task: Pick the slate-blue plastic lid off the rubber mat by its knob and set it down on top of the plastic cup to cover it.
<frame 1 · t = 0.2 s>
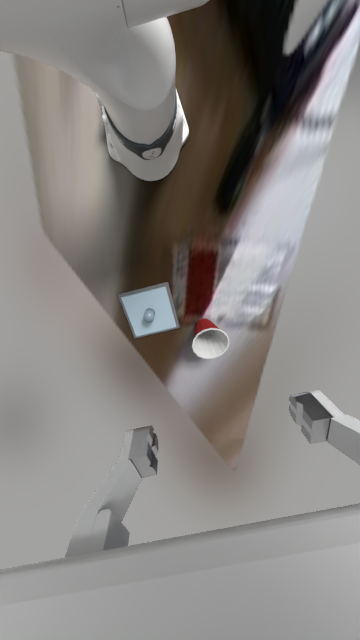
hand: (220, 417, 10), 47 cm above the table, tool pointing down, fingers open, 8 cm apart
plastic cup: (203, 326, 61), on the table
mat: (150, 311, 58), on the table
lid: (150, 312, 57), point 1 cm above the table, touching mat
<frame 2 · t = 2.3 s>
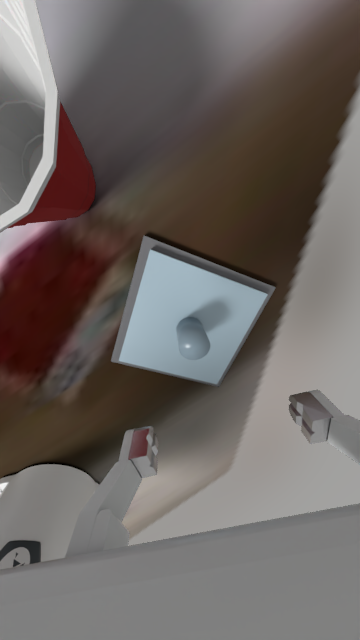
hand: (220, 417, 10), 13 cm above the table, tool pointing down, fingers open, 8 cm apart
plastic cup: (65, 179, 16), on the table
mat: (188, 324, 23), on the table
lid: (188, 326, 22), point 1 cm above the table, touching mat
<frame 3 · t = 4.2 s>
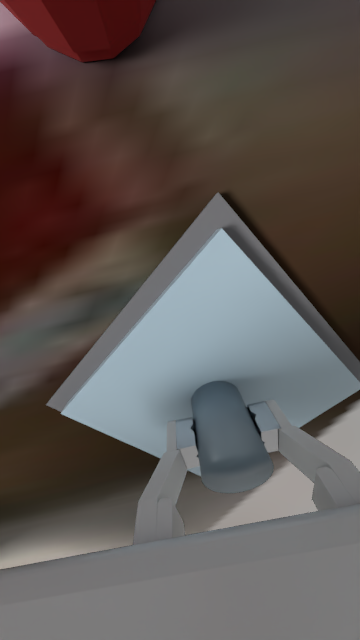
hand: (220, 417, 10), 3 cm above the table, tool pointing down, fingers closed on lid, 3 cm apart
mat: (211, 384, 13), on the table
lid: (212, 390, 12), point 1 cm above the table, touching gripper, mat
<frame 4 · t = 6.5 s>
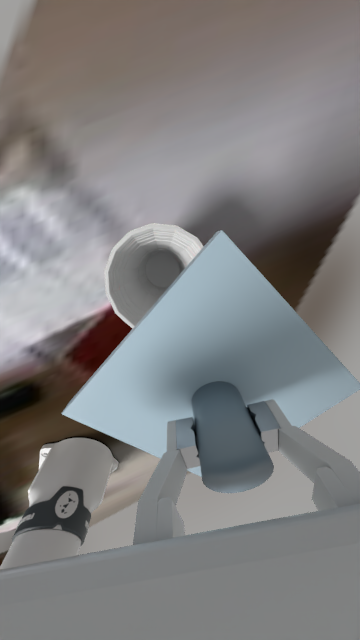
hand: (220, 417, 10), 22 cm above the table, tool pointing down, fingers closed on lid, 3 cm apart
plastic cup: (163, 269, 28), on the table
lid: (213, 390, 12), point 20 cm above the table, touching gripper
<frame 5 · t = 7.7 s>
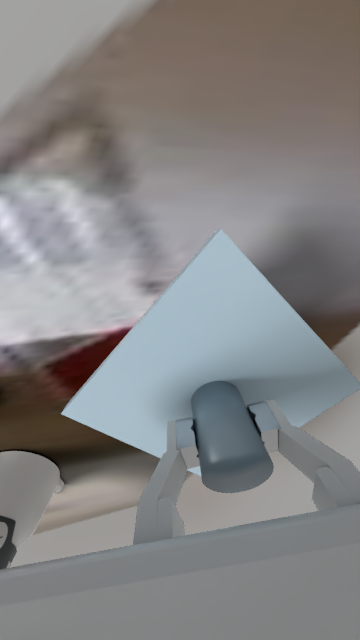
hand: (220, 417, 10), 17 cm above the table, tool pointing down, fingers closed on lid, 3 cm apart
lid: (212, 390, 12), point 15 cm above the table, touching gripper
when the fingers open (15 cm above the table, at t = 8.6 s): lid drops 1 cm, resting on plastic cup.
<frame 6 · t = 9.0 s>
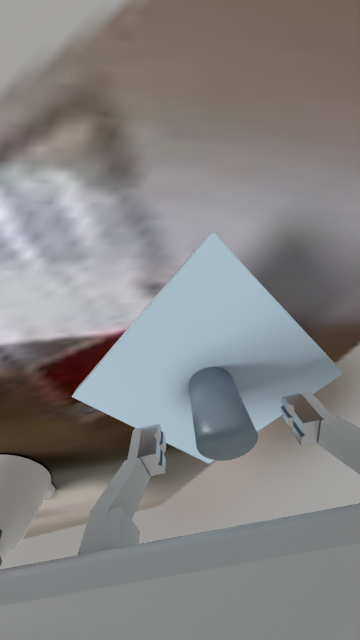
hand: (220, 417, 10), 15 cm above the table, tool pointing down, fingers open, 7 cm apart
lid: (208, 376, 13), point 12 cm above the table, touching plastic cup
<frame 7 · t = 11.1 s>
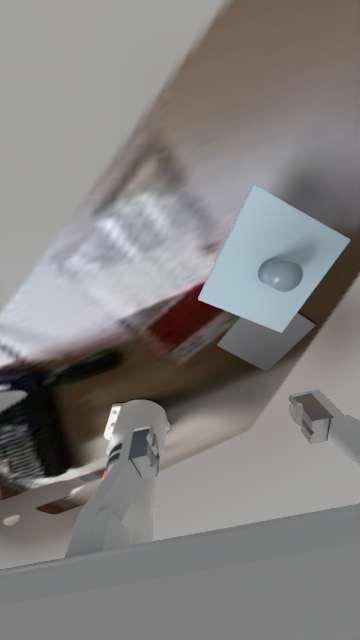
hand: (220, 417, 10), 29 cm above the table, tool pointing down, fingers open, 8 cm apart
mat: (264, 334, 42), on the table
lid: (267, 270, 24), point 12 cm above the table, touching plastic cup
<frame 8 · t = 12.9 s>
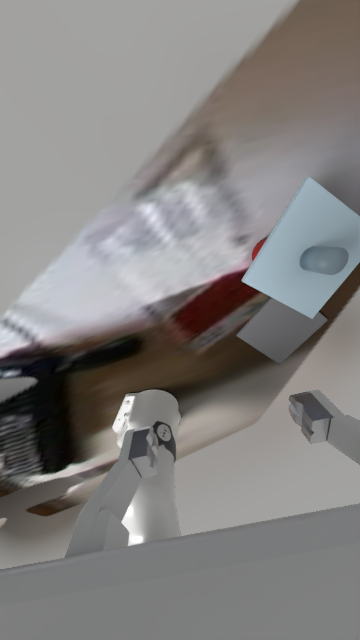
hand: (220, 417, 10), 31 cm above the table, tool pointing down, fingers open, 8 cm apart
mat: (280, 326, 44), on the table
lid: (306, 258, 26), point 12 cm above the table, touching plastic cup
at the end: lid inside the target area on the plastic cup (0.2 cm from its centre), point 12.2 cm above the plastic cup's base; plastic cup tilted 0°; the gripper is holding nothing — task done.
